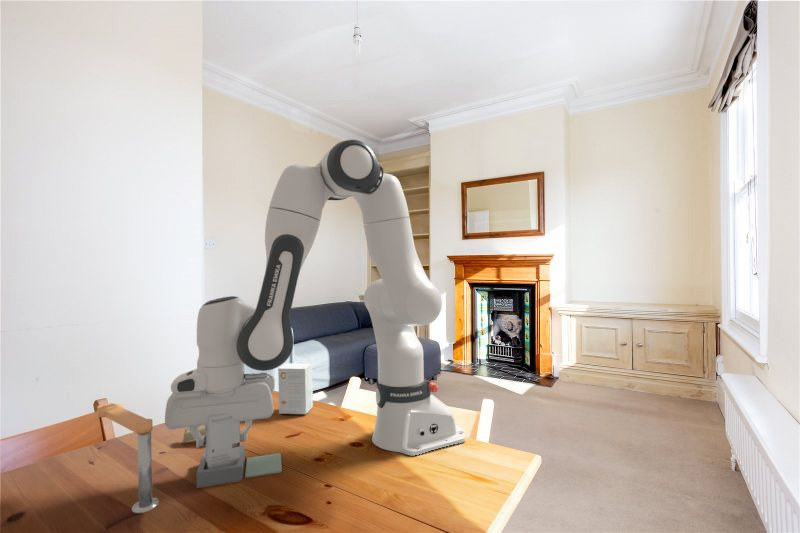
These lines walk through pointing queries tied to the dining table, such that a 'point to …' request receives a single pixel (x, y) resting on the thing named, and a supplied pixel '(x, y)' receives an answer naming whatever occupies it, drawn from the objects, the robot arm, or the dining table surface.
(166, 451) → the dining table surface
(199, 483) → the grey slotted base
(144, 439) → the post
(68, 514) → the dining table surface
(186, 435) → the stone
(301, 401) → the small box
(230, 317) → the robot arm
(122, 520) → the dining table surface
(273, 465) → the mat
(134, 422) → the wooden board
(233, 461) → the skincare box
